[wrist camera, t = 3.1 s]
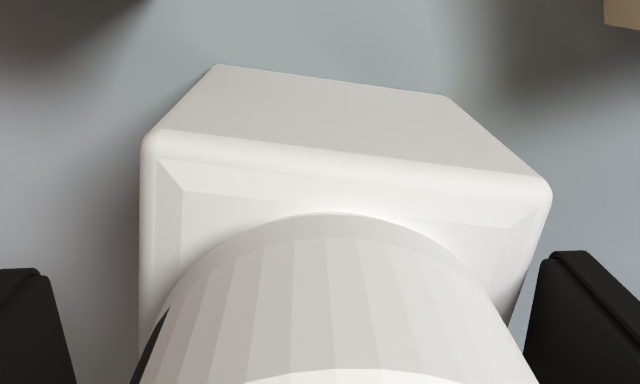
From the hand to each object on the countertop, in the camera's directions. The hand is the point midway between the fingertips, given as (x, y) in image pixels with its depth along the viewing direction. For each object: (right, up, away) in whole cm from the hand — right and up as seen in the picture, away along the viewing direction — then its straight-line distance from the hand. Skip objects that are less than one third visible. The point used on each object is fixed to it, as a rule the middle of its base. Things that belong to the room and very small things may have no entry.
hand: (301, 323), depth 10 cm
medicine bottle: (0, +3, +7) cm, 7 cm away
